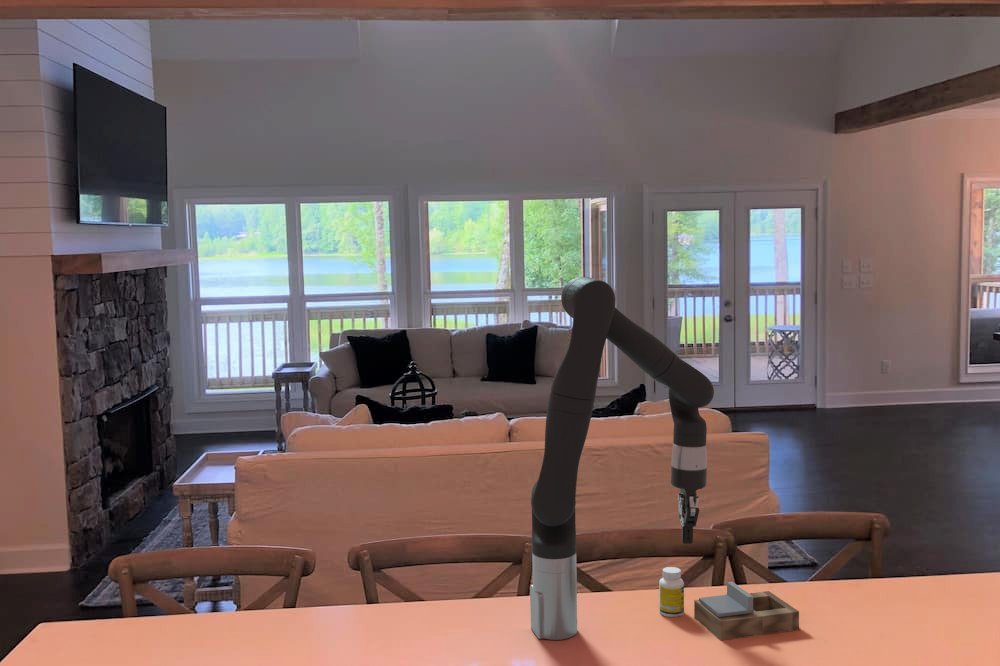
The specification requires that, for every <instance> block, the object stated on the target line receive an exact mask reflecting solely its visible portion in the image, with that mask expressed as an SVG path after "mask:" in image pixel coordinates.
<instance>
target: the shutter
mask: <svg viewBox="0 0 1000 666" xmlns="http://www.w3.org/2000/svg"><path fill="white" fill-rule="evenodd" d="M698 600H699V601H700V602H701V603H702V604H703V605H704V606H706V607H707V608H708V609H709V610H711V611H712V612H713V613H714V614H716V615H717V616H718V617H724V616H732V615H740V614H747V613H754V609H753V596H752V595H750V594H749V592H748V591H746V590H744V589H743V588H742V587H740V586H739V585H738V584H736V583H735V582H733V581H727V582H726V594H723V595H722V594H720V595H713V596H705V597H699V598H698Z"/></svg>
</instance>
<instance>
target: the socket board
mask: <svg viewBox="0 0 1000 666" xmlns="http://www.w3.org/2000/svg"><path fill="white" fill-rule="evenodd" d="M748 593H749V592H748ZM749 594H750V595H752V596H753V609H754V613H747V614H740V615H732V616H724V617H718V616H717V615H716V614H714V613H713V612H712V611H711V610H709V609H708V608H707V607H706V606H704V605H703V604H702V603H701V602H700V601H699V599H694V601H693V602H694V603H693V605H694V606H693V607H694V610H693V611H694V612H693V613H694V615H693V616H694V617H693V618H694V619H695V620H696V619H697V620H698V621H699V623H700V624H701V625H702V626H703V627H704V628H705V629H707V631H709V632H710V633H711V634H712V635H713V636H715V637H716V638H717V639H718V640H719V641H726V640H734V639H742V638H748V637H757V636H762V635H763V636H765V635H770V634H771V635H773V634H779V633H787V632H793V631H799V630H800V611H799V609H796V608H794V607H793V606H792V605H790V604H789V603H788V602H786V601H784V600H783V599H781V598H780V597H778V596H777V595H776V594H774V593H773V592H771V591H769V590H766V591H760V592H751V593H749ZM697 620H696V621H697ZM698 621H697V622H698Z"/></svg>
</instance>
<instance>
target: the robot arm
mask: <svg viewBox="0 0 1000 666" xmlns="http://www.w3.org/2000/svg"><path fill="white" fill-rule="evenodd" d="M560 297H561V298H560V299H561V305H562V308H563V310H564V311H565V312H566V314H567V315H568V316H569V317H571V318H572V328H571V334H570V340H569V344H568V348H567V350H566V353H565V355H564V356H563V359H562V361H561V362H560V365H559V367H558V368H557V370H556V372H555V375H554V377H553V379H552V382H551V387H550V391H549V397H548V401H547V408H546V416H545V417H546V418H545V428H544V429H545V431H544V452H543V459H542V463H541V468H540V471H539V477H538V479H537V480H536V481H535V483H534V485H533V487H532V490H531V496H530V497H531V498H530V505H531V548H532V550H531V551H532V553H531V554H532V555H531V556H532V557H531V558H532V561H531V562H532V584H531V585H530V586H529V591H530V592H529V595H530V606H529V607H530V629H531V630H532V632H533V633H534V635H535V636H536V638H537V639H539V640H543V639H546V640H553V641H555V640H557V641H558V640H559V641H560V640H561V641H562V640H566V639H570V638H573V637H574V636H576V634H577V633H578V598H577V597H578V594H577V593H578V592H577V591H578V586H577V583H578V582H577V581H578V580H577V529H576V527H577V526H576V504H577V503H576V502H577V501H576V496H577V482H578V472H579V465H580V461H581V457H582V453H583V449H584V447H585V443H586V440H587V436H588V432H589V428H590V423H591V420H592V415H593V412H594V411H593V410H594V403H595V398H596V392H597V387H598V380H599V376H600V371H601V364H602V357H603V352H604V348H605V344H606V340H608V341H609V342H610V343H612V344H613V345H615V347H616V348H618V349H619V350H620V351H621V352H622V353H623V354H624V355H626V357H628V358H629V359H630V360H631V361H632V362H634V364H635V365H637V366H638V367H639V368H640V369H642V371H644V372H645V373H646V374H647V375H648V376H650V377H651V378H652V379H653V380H655V381H656V382H657V383H660V384H663V385H665V386H666V387H668V401H669V407H670V412H671V413H670V414H671V417H672V422H673V433H672V434H673V435H672V436H673V438H672V439H673V441H672V449H671V450H672V451H671V465H670V466H671V471H670V474H671V475H670V483H671V485H672V486H673V487H674V488H677V489H678V490H679V489H680V491H679V492H677V497H676V498H677V504H678V513H679V515H678V518H679V519H680V525H681V536H680V537H681V542H682V544H685V545H687V544H688V545H691V544H693V542H694V540H693V539H694V527H696V526H697V522H698V518H699V513H700V508H699V507H698V506H699V504H700V498H699V496H698V495H697V491H698V490H702V489H705V488H706V486H707V475H708V474H707V473H708V472H707V471H708V470H707V469H708V451H707V434H708V433H707V430H708V428H707V422H706V420H705V419H704V418H703V417H702V416H701V414H700V413H699V408H704V407H707V406H708V405H709V404H710V403H711V402H712V401H713V398H714V395H715V389H714V385H713V383H712V382H711V380H710V378H708V377H707V375H705V374H704V373H702V371H700V370H698V369H696V367H694V366H692V365H691V364H690V363H687V361H684V360H683V359H681V358H680V356H677V354H676V353H675V352H674V351H673V350H672V349H670V348H669V347H668V346H667V345H665V343H663V342H662V341H661V340H660V339H659V338H657V337H656V336H655V335H653V334H652V333H650V332H649V331H647V330H646V329H644V328H643V327H642V326H640V325H638V324H637V323H636V322H634V321H633V320H631V319H629V318H628V317H627V316H626V315H625V314H623V313H622V312H621V311H620V310H619V309H618V308H617V306H616V295H615V292H614V290H613V288H612V286H611V285H609V283H608V282H606V281H604V280H601V279H598V278H593V277H588V276H580V277H575V278H573V279H570V280H569V281H568V282H567V283H566V284H565V286H564V287H563V289H562V291H561V296H560Z"/></svg>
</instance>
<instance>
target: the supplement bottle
mask: <svg viewBox="0 0 1000 666" xmlns="http://www.w3.org/2000/svg"><path fill="white" fill-rule="evenodd" d="M658 583H659V584H658V585H659V586H658V590H659V591H658V592H659V593H658V599H659V600H658V601H659V602H658V611H659V613H660V615H662V616H664V617H667V616H668V617H669V618H677V617H678V616H679V617H681V616H683V614H684V613H685V582H684V580H683V579H682V570H681V569H680V568H678V567H675V566H667V567H663V568H662V578H660V579H659V582H658Z"/></svg>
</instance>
